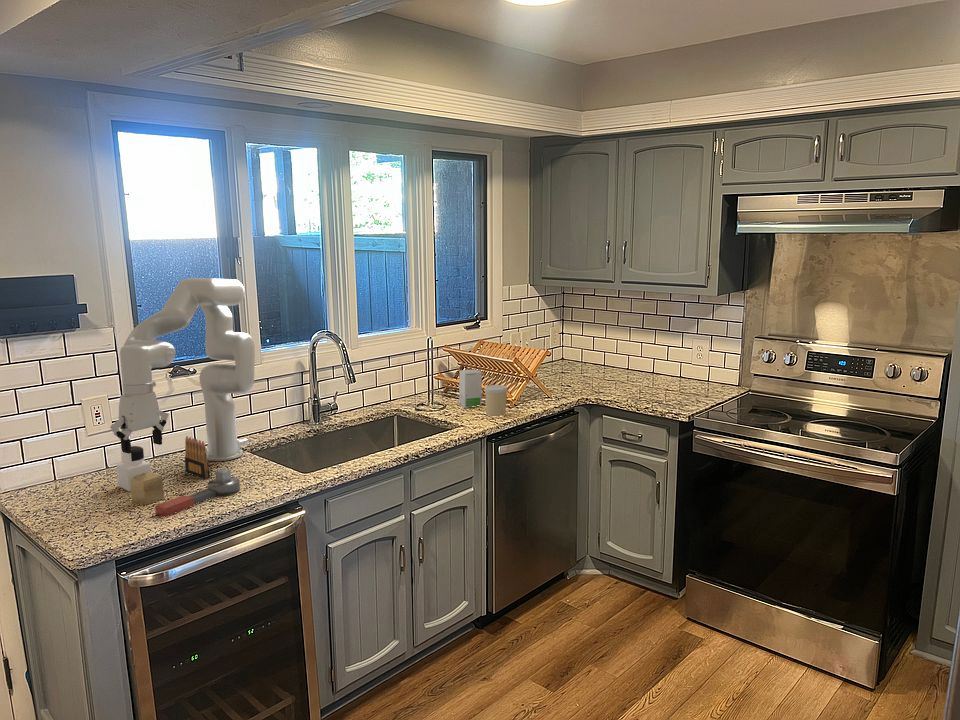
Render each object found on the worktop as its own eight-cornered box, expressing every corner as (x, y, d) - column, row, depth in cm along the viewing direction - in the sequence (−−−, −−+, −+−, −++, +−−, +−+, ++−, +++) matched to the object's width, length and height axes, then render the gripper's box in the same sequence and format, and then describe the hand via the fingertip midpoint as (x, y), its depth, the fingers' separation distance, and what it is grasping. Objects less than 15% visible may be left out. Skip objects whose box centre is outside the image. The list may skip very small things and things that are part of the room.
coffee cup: (492, 411, 304) (493, 383, 302) (511, 415, 299) (511, 386, 297) (479, 416, 297) (479, 387, 294) (498, 420, 291) (498, 390, 289)
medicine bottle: (141, 480, 224) (138, 442, 222) (152, 485, 219) (149, 447, 217) (118, 486, 218) (114, 448, 216) (129, 492, 214) (125, 453, 212)
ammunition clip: (185, 472, 231) (182, 436, 229) (190, 470, 232) (187, 434, 230) (204, 479, 225) (201, 442, 222) (210, 477, 226) (207, 440, 224)
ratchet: (225, 483, 221) (224, 463, 220) (246, 488, 217) (245, 469, 216) (150, 512, 199) (148, 491, 198) (171, 518, 195) (169, 497, 194)
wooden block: (150, 494, 212) (148, 471, 211) (164, 498, 209) (162, 475, 208) (132, 501, 207) (130, 477, 206) (145, 505, 204) (143, 481, 203)
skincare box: (464, 409, 308) (464, 373, 305) (458, 405, 314) (458, 370, 311) (482, 406, 312) (482, 371, 309) (476, 403, 318) (476, 368, 315)
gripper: (156, 382, 211) (160, 439, 214) (100, 393, 196) (105, 454, 199) (173, 384, 207) (177, 442, 210) (117, 396, 193) (122, 458, 196)
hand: (142, 448), depth 205 cm, fingers open, 9 cm apart
